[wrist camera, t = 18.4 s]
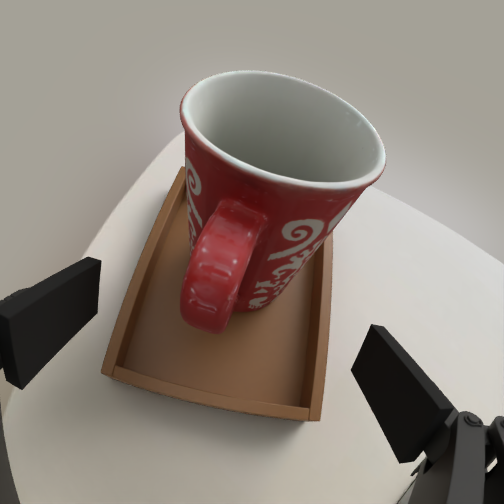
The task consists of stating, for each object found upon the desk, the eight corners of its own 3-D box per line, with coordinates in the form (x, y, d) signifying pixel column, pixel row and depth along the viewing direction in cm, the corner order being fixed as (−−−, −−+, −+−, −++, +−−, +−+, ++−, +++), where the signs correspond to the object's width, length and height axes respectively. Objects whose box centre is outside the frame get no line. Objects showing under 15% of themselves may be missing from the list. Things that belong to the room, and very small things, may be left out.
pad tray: (110, 377, 17) (99, 372, 15) (180, 185, 26) (181, 165, 24) (305, 421, 18) (320, 421, 16) (322, 222, 27) (333, 205, 25)
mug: (212, 203, 25) (238, 55, 14) (309, 247, 25) (389, 117, 14) (131, 329, 18) (59, 194, 7) (252, 390, 18) (360, 341, 7)
